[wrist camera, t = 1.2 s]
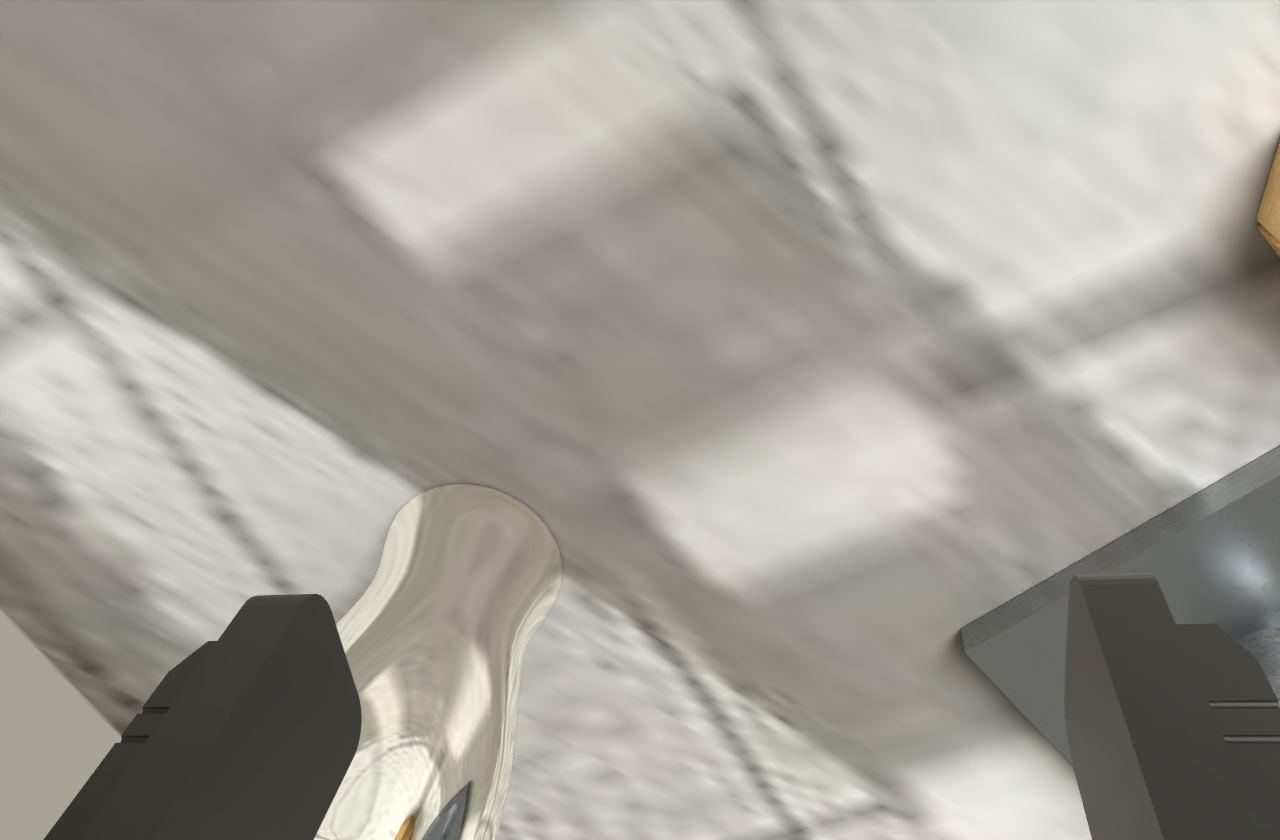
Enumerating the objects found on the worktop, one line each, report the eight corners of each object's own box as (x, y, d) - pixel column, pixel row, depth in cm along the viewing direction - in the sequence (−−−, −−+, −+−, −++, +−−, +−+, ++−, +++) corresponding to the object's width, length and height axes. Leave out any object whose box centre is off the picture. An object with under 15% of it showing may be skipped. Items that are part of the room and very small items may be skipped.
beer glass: (551, 460, 37) (403, 825, 24) (594, 633, 40) (485, 1041, 27) (350, 480, 38) (105, 834, 25) (407, 645, 41) (216, 1039, 28)
